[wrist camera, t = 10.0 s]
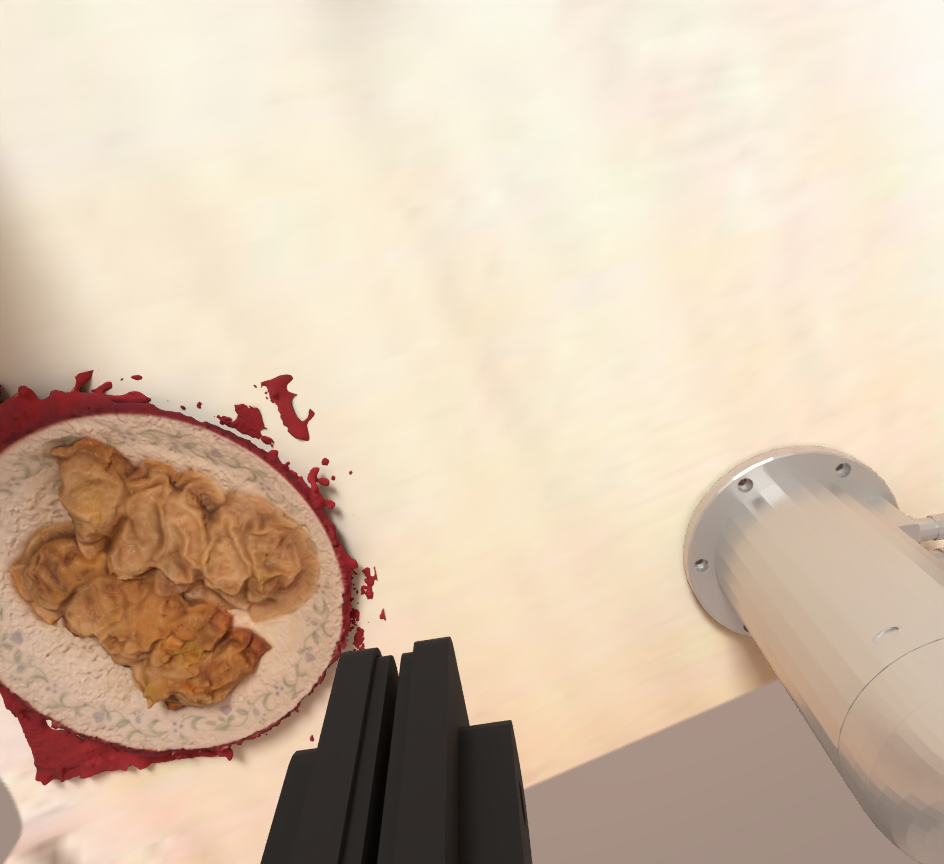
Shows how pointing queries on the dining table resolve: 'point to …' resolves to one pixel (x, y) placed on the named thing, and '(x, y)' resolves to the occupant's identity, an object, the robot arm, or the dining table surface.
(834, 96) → the dining table surface
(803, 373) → the dining table surface
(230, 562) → the plate with food
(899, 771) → the robot arm
